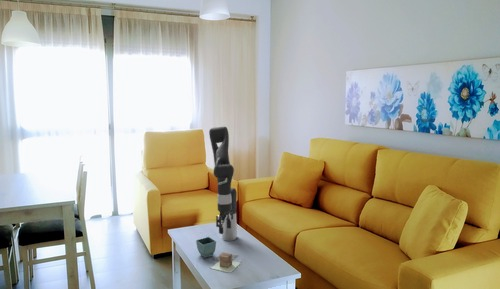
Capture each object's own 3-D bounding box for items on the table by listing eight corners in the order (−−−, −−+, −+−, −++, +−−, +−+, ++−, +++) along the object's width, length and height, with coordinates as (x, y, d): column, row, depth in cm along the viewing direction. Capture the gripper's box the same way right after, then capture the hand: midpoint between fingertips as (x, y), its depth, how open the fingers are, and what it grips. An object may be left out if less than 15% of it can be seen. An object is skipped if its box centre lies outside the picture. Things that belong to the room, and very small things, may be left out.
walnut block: (224, 262, 209) (224, 252, 208) (232, 264, 207) (232, 253, 206) (219, 266, 204) (219, 255, 204) (227, 268, 202) (227, 257, 201)
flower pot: (203, 260, 213) (203, 245, 212) (196, 254, 220) (195, 240, 219) (216, 256, 218) (216, 241, 217) (209, 251, 225) (208, 236, 224)
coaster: (221, 259, 213) (221, 259, 213) (240, 263, 208) (240, 263, 208) (210, 268, 203) (210, 268, 203) (230, 273, 197) (230, 272, 197)
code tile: (222, 252, 222) (222, 252, 222) (237, 255, 218) (237, 255, 218) (213, 259, 213) (213, 259, 213) (229, 263, 209) (229, 262, 209)
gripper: (224, 197, 208) (225, 225, 211) (211, 204, 196) (212, 234, 198) (236, 198, 205) (237, 227, 207) (224, 206, 192) (224, 236, 195)
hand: (225, 230), depth 203 cm, fingers open, 8 cm apart
